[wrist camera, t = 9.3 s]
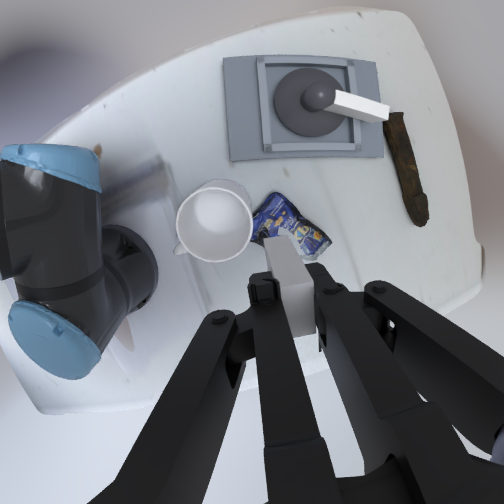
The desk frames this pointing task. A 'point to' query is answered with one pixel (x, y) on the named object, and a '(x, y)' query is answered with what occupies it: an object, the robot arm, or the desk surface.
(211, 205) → the mug
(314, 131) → the dial
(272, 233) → the snack package
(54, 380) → the desk surface
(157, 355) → the desk surface
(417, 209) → the dark brown lumpy bar
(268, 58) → the panel
